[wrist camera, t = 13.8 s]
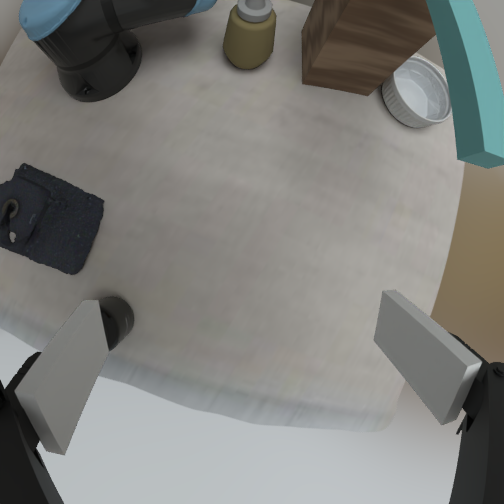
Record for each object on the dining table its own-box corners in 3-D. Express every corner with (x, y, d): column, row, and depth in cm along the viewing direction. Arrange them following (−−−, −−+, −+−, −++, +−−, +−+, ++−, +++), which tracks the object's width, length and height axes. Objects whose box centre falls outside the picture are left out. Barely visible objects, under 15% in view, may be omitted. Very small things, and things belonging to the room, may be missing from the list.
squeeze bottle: (250, 83, 47) (265, 17, 29) (212, 59, 46) (211, -11, 28) (279, 55, 47) (303, -12, 29) (242, 31, 46) (252, -38, 28)
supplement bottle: (142, 327, 47) (120, 352, 35) (108, 343, 46) (80, 371, 34) (122, 287, 46) (93, 302, 34) (88, 305, 46) (54, 323, 34)
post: (367, 96, 49) (471, 3, 19) (302, 84, 48) (374, -40, 18) (362, 44, 48) (442, -54, 19) (301, 31, 47) (355, -89, 17)
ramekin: (380, 60, 49) (396, 42, 42) (435, 89, 50) (454, 76, 43) (371, 115, 49) (389, 100, 42) (430, 144, 50) (452, 135, 44)
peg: (491, 171, 19) (522, 163, 16) (447, 158, 19) (480, 147, 15) (440, -27, 18) (456, -44, 15) (400, -45, 18) (415, -65, 14)
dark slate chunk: (81, 289, 46) (68, 294, 41) (-9, 238, 44) (-24, 238, 39) (113, 199, 46) (102, 195, 41) (18, 159, 44) (4, 153, 39)
